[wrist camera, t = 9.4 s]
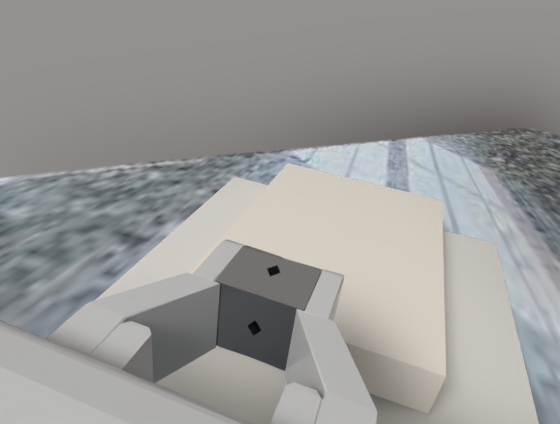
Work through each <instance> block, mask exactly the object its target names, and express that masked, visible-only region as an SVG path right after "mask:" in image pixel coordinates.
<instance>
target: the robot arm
mask: <svg viewBox="0 0 560 424" xmlns="http://www.w3.org/2000/svg"><path fill="white" fill-rule="evenodd" d="M343 282H344V274H340V273H336V272H333V271H329V270H325V269H320V268H316V267H313V266H309V265H306V264H303V263H299V262H296V261H293V260H289V259H286V258H284V257H281V256H278V255H275V254H272V253H269V252H266V251H263V250H260V249H256V248H253V247H250V246H247V245H244V244H241V243H238V242H234V241H231V240H228V239H227V240H224V241H222V242H221V243H220V244H219V246H218V247H217V248H216V249H215V250H214V251H213V252H212V253H211V254H210V255H209V257H208V258H207V259H206V260H205V261H204V262H203V263H202V264H201V265H200V266H199V268H198V269H197V270H196V271H195V272H194V273H193V274H190V273H183V274H180V275H177V276H173V277H170V278H167V279H164V280H160V281H157V282H154V283H150V284H147V285H144V286H141V287H137V288H134V289H131V290H127V291H124V292H121V293H118V294H114V295H111V296H108V297H104V298H101V299H98V300H95V301H91V302H88V303H87V304H86V305H84V306H83V307H82V308H81V309H80V310H79V311H77V312H76V313H75V314H74V315H73V316H72V317H70V318H69V319H68V320H67V321H66V322H64V323H63V324H62V325H61V326H60V327H59V328H57V329H56V330H55V331H54V332H53V333H52V334H50V335H49V336H48V337H47V338H46V339H45V338H43V337H40V336H38V335H35V334H33V333H30V332H28V331H25V330H23V329H21V328H18V327H16V326H13V325H11V324H8V323H6V322H3V321H1V320H0V424H253V423H250V422H248V421H245V420H243V419H240V418H238V417H235V416H233V415H231V414H228V413H226V412H223V411H221V410H218V409H216V408H213V407H211V406H209V405H206V404H204V403H201V402H199V401H196V400H194V399H191V398H189V397H187V396H184V395H182V394H179V393H177V392H174V391H172V390H170V389H167V388H165V387H162V386H160V385H157V384H155V383H156V382H158V381H159V380H161V379H163V378H165V377H166V376H168V375H170V374H171V373H173V372H175V371H177V370H178V369H180V368H182V367H184V366H185V365H187V364H189V363H190V362H192V361H194V360H196V359H197V358H199V357H201V356H202V355H204V354H206V353H208V352H209V351H211V350H213V349H215V348H216V346H219V347H222V348H224V349H227V350H230V351H233V352H236V353H239V354H242V355H245V356H248V357H251V358H253V359H256V360H258V361H261V362H263V363H266V364H268V365H271V366H273V367H276V368H278V369H281V370H283V371H285V376H286V381H287V385H286V386H285V389H284V391H283V394H282V396H281V398H280V401H279V403H278V405H277V408H276V410H275V413H274V415H273V417H272V420H271V422H270V424H376V419H377V410H376V407H375V405H374V403H373V401H372V399H371V397H370V395H369V392H368V390H367V388H366V386H365V384H364V382H363V379H362V377H361V375H360V373H359V371H358V369H357V367H356V364H355V362H354V360H353V358H352V356H351V354H350V351H349V349H348V347H347V345H346V343H345V341H344V339H343V336H342V334H341V332H340V330H339V328H338V326H337V323H336V322H335V321H334V317H335V313H336V309H337V305H338V301H339V297H340V294H341V290H342V286H343Z"/></svg>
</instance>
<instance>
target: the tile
mask: <svg viewBox="0 0 560 424" xmlns="http://www.w3.org/2000/svg"><path fill="white" fill-rule="evenodd" d="M227 239H228V240H231V241H234V242H238V243H241V244H244V245H247V246H250V247H253V248H256V249H260V250H263V251H266V252H269V253H272V254H275V255H278V256H281V257H284V258H286V259H289V260H293V261H296V262H299V263H303V264H306V265H309V266H313V267H316V268H320V269H325V270H329V271H333V272H336V273H340V274H344V282H343V286H342V290H341V294H340V297H339V301H338V305H337V309H336V313H335V317H334V321H335V322H336V323H337V326H338V328H339V330H340V332H341V334H342V336H343V339H344V341H345V343H346V345H347V347H348V349H349V351H350V354H351V356H352V358H353V360H354V362H355V364H356V367H357V369H358V371H359V373H360V375H361V377H362V379H363V382H364V384H365V386H366V388H367V390H368V392H369V393H370V394H373V395H376V396H378V397H381V398H384V399H387V400H390V401H392V402H395V403H398V404H401V405H404V406H406V407H409V408H412V409H415V410H418V411H420V412H423V413H426V414H429V412H430V410H431V408H432V406H433V404H434V401H435V399H436V397H437V395H438V393H439V391H440V389H441V386H442V384H443V382H444V380H445V378H446V344H445V302H444V260H443V217H442V200H438V199H434V198H430V197H426V196H422V195H417V194H413V193H409V192H405V191H401V190H397V189H393V188H388V187H384V186H380V185H376V184H372V183H368V182H363V181H359V180H355V179H351V178H347V177H343V176H339V175H334V174H330V173H326V172H322V171H318V170H314V169H310V168H305V167H301V166H297V165H293V164H289V163H288V164H287V165H286V166H285V167H284V168H283V169H282V170H281V171H280V172H279V173H278V175H277V176H276V177H275V178H274V179H273V180H272V181H271V182H270V183H269V185H268V186H267V187H266V188H265V189H264V190H263V191H262V192H261V193H260V195H259V196H258V197H257V198H256V199H255V200H254V201H253V202H252V203H251V205H250V206H249V207H248V208H247V209H246V210H245V211H244V212H243V213H242V214H241V216H240V217H239V218H238V219H237V220H236V221H235V222H234V223H233V224H232V226H231V227H230V228H229V229H228V230H227V231H226V232H225V233H224V234H223V236H222V237H221V238H220V239H219V240H218V241H217V242H216V243H215V244H214V246H213V247H212V248H211V249H210V250H209V251H208V252H207V253H206V254H205V255H204V257H203V258H202V259H201V260H200V261H199V262H198V263H197V264H196V265H195V267H194V268H193V269H192V270H191V271H190V272H189V273H190V274H193V273H194V272H195V271H196V270H197V269H198V268H199V266H200V265H201V264H202V263H203V262H204V261H205V260H206V259H207V258H208V257H209V255H210V254H211V253H212V252H213V251H214V250H215V249H216V248H217V247H218V246H219V244H220V243H221V242H222V241H224V240H227Z"/></svg>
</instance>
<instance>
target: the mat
mask: <svg viewBox="0 0 560 424" xmlns="http://www.w3.org/2000/svg"><path fill="white" fill-rule="evenodd" d="M267 186H268V185H264V184H260V183H256V182H253V181H249V180H245V179H241V178H237V177H234V178H233V179H232V180H230V181H229V182H228V183H227V184H226V185H225V186H224V187H223V188H221V189H220V190H219V191H218V192H217V193H216V194H215V195H214V196H212V197H211V198H210V199H209V200H208V201H207V202H206V203H204V204H203V205H202V206H201V207H200V208H199V209H198V210H197V211H195V212H194V213H193V214H192V215H191V216H190V217H189V218H188V219H186V220H185V221H184V222H183V223H182V224H181V225H180V226H178V227H177V228H176V229H175V230H174V231H173V232H172V233H171V234H169V235H168V236H167V237H166V238H165V239H164V240H163V241H162V242H160V243H159V244H158V245H157V246H156V247H155V248H154V249H152V250H151V251H150V252H149V253H148V254H147V255H146V256H145V257H143V258H142V259H141V260H140V261H139V262H138V263H137V264H136V265H134V266H133V267H132V268H131V269H130V270H129V271H128V272H126V273H125V274H124V275H123V276H122V277H121V278H120V279H119V280H117V281H116V282H115V283H114V284H113V285H112V286H111V287H110V288H108V289H107V290H106V291H105V292H104V293H103V294H102V295H100V296H99V297H98V298H97V299H96V300H98V299H101V298H104V297H108V296H111V295H114V294H118V293H121V292H124V291H127V290H131V289H134V288H137V287H141V286H144V285H147V284H150V283H154V282H157V281H160V280H164V279H167V278H170V277H173V276H177V275H180V274H183V273H189V272H190V271H191V270H192V269H193V268H194V267H195V265H196V264H197V263H198V262H199V261H200V260H201V259H202V258H203V257H204V255H205V254H206V253H207V252H208V251H209V250H210V249H211V248H212V247H213V246H214V244H215V243H216V242H217V241H218V240H219V239H220V238H221V237H222V236H223V234H224V233H225V232H226V231H227V230H228V229H229V228H230V227H231V226H232V224H233V223H234V222H235V221H236V220H237V219H238V218H239V217H240V216H241V214H242V213H243V212H244V211H245V210H246V209H247V208H248V207H249V206H250V205H251V203H252V202H253V201H254V200H255V199H256V198H257V197H258V196H259V195H260V193H261V192H262V191H263V190H264V189H265V188H266V187H267ZM443 260H444V302H445V344H446V378H445V380H444V382H443V384H442V386H441V389H440V391H439V393H438V395H437V397H436V399H435V401H434V404H433V406H432V408H431V410H430V412H429V414H426V413H423V412H420V411H418V410H415V409H412V408H409V407H406V406H404V405H401V404H398V403H395V402H392V401H390V400H387V399H384V398H381V397H378V396H376V395H373V394H370V393H369V395H370V397H371V399H372V401H373V403H374V405H375V407H376V410H377V419H376V424H539V422H538V418H537V414H536V410H535V405H534V401H533V397H532V393H531V389H530V384H529V380H528V376H527V372H526V368H525V363H524V359H523V355H522V351H521V347H520V342H519V338H518V334H517V330H516V326H515V321H514V317H513V313H512V309H511V305H510V301H509V296H508V292H507V288H506V284H505V280H504V275H503V271H502V267H501V263H500V259H499V254H498V250H497V246H496V244H494V243H490V242H486V241H482V240H478V239H475V238H471V237H467V236H463V235H459V234H455V233H451V232H447V231H443ZM155 384H157V385H160V386H162V387H165V388H167V389H170V390H172V391H174V392H177V393H179V394H182V395H184V396H187V397H189V398H191V399H194V400H196V401H199V402H201V403H204V404H206V405H209V406H211V407H213V408H216V409H218V410H221V411H223V412H226V413H228V414H231V415H233V416H235V417H238V418H240V419H243V420H245V421H248V422H250V423H253V424H270V422H271V420H272V417H273V415H274V413H275V410H276V408H277V405H278V403H279V401H280V398H281V396H282V394H283V391H284V389H285V386H286V385H287V381H286V376H285V371H283V370H281V369H278V368H276V367H273V366H271V365H268V364H266V363H263V362H261V361H258V360H256V359H253V358H251V357H248V356H245V355H242V354H239V353H236V352H233V351H230V350H227V349H224V348H222V347H219V346H216V348H215V349H213V350H211V351H209V352H208V353H206V354H204V355H202V356H201V357H199V358H197V359H196V360H194V361H192V362H190V363H189V364H187V365H185V366H184V367H182V368H180V369H178V370H177V371H175V372H173V373H171V374H170V375H168V376H166V377H165V378H163V379H161V380H159V381H158V382H156V383H155Z"/></svg>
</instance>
